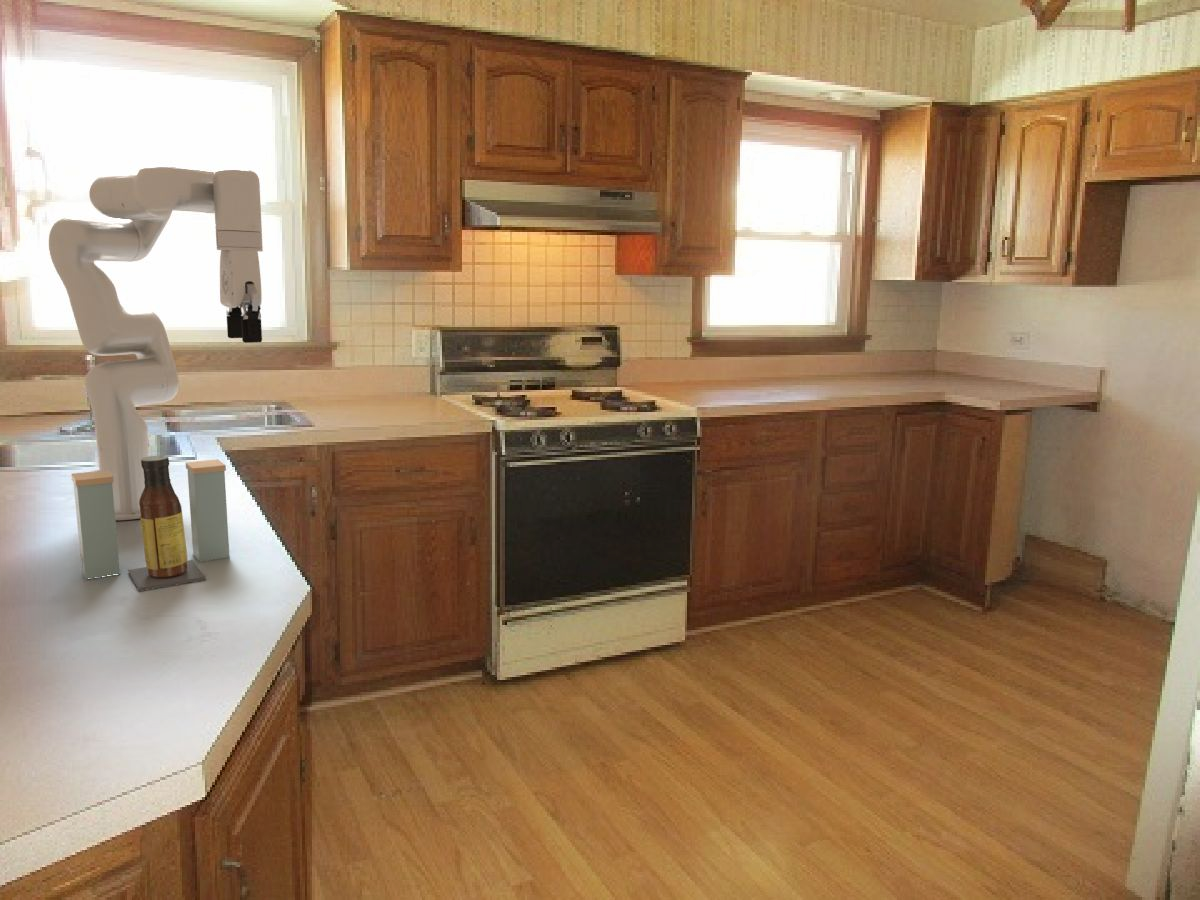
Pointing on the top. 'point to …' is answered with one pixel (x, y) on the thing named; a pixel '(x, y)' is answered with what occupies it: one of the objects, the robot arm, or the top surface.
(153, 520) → the sauce bottle
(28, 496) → the top surface
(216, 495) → the canister
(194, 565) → the plate
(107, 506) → the canister
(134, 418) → the robot arm
